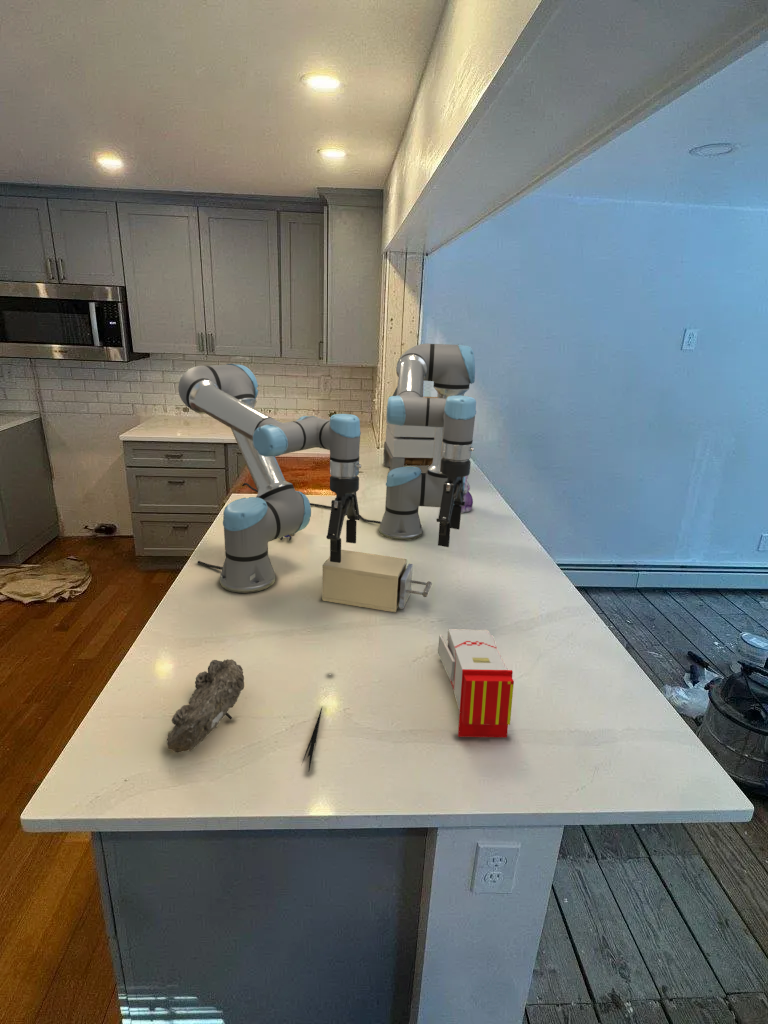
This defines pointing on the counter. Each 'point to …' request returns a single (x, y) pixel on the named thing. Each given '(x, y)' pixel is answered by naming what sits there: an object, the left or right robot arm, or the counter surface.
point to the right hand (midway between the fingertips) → (449, 536)
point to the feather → (313, 740)
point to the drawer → (409, 586)
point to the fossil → (206, 705)
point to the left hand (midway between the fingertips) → (343, 551)
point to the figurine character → (288, 536)
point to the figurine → (467, 498)
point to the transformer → (408, 445)
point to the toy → (478, 682)
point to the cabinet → (363, 580)
